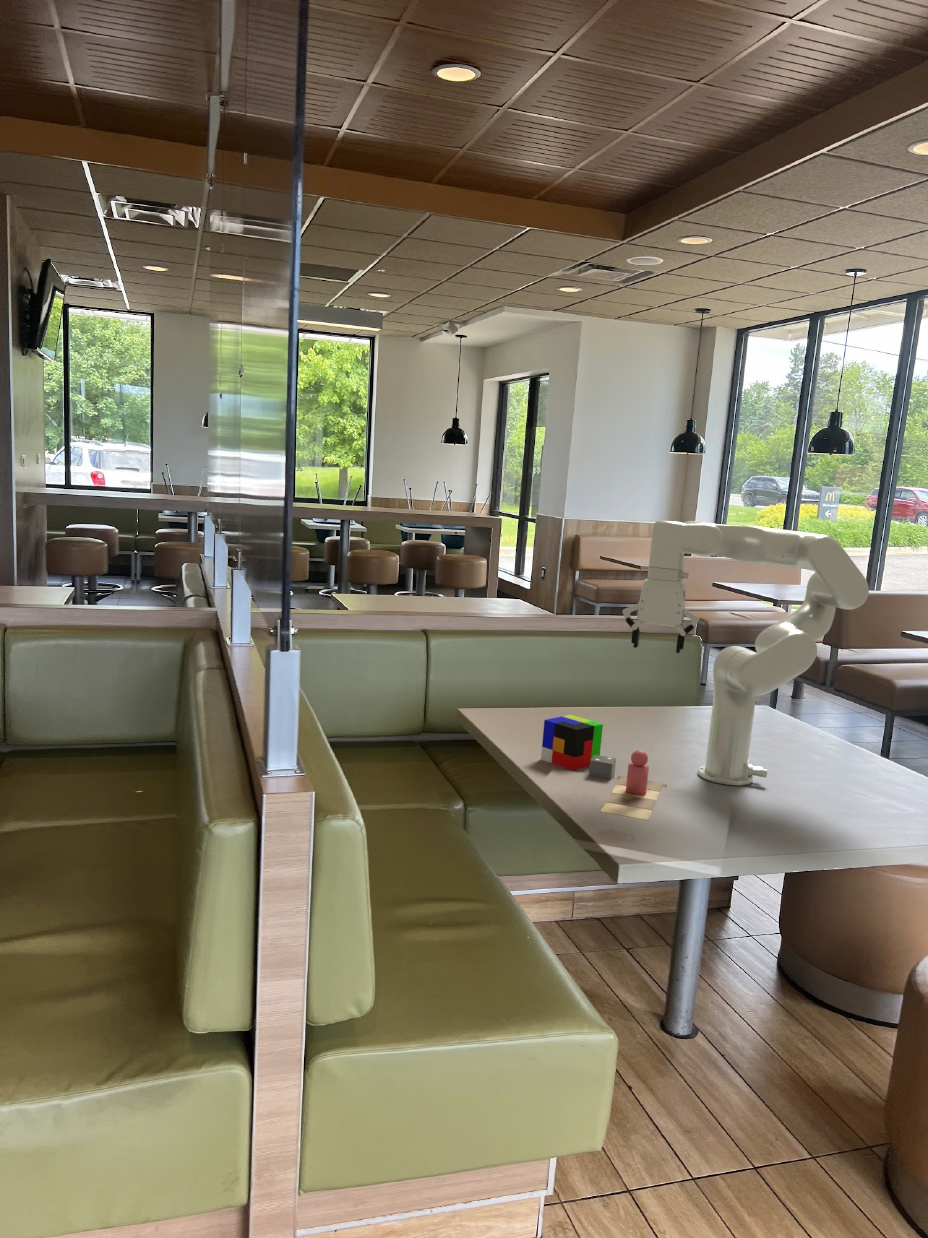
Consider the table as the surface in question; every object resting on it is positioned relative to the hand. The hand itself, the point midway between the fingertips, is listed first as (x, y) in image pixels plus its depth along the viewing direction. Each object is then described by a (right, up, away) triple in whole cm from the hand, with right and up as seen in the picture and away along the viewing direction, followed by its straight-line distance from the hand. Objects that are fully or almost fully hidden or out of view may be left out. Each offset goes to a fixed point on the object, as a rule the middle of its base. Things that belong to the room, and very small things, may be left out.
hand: (656, 649), depth 210 cm
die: (-13, -30, 0) cm, 33 cm away
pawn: (-7, -31, -11) cm, 33 cm away
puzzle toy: (-19, -28, +12) cm, 36 cm away
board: (-8, -32, -14) cm, 36 cm away
